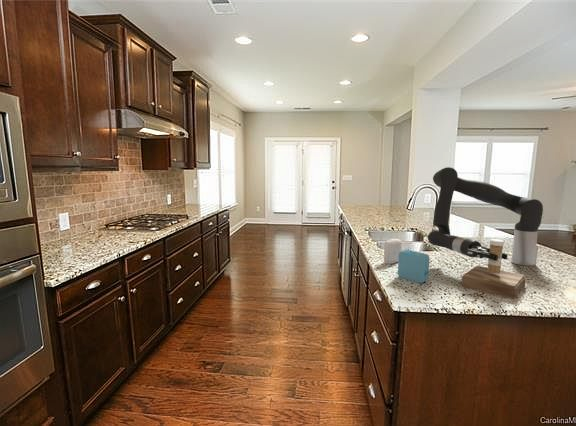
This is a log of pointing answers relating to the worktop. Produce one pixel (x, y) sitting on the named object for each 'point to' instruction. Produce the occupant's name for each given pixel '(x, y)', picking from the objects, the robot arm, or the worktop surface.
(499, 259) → the sprinkles bottle
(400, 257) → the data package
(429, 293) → the worktop surface
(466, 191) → the robot arm
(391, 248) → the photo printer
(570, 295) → the worktop surface
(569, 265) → the worktop surface
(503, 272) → the walnut riser
